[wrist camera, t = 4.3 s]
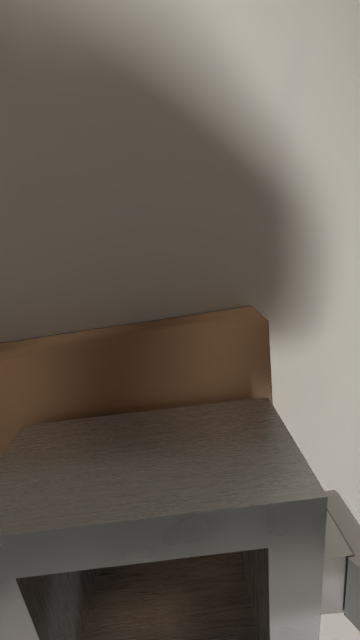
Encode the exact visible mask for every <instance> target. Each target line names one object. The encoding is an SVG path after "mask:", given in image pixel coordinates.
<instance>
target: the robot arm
mask: <svg viewBox="0 0 360 640" xmlns="http://www.w3.org/2000/svg"><path fill="white" fill-rule="evenodd" d="M325 493H326V495H327V496H328V502H327V519H326V535H325V551H324V568H323V584H322V600H321V614H331V613H341V612H344V615H345V616H346V617H347V618H348V619H349V620H350V621H351V622H352V624H353V625H354V626H355V627H356V628H357V629H358V630H359V631H360V525H359V523H358V522H357V520H356V519H355V517H354V516H353V514H352V513H351V511H350V510H349V508H348V507H347V505H346V504H345V502H344V501H343V499H342V498H341V496H340V495H339V493H338V492H336V491H335V490H331V491H325Z"/></svg>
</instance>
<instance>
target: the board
mask: <svg viewBox="0 0 360 640" xmlns="http://www.w3.org/2000/svg"><path fill="white" fill-rule="evenodd" d="M264 397H268V398H269V399H270V401H271V403H272V383H271V364H270V344H269V324H268V320H267V319H266V318H265V317H264V316H262V315H261V314H260V313H259V312H258V311H257V310H256V309H254V308H253V307H252V306H248V307H241V308H235V309H228V310H221V311H214V312H208V313H201V314H194V315H188V316H181V317H174V318H168V319H161V320H154V321H148V322H141V323H134V324H127V325H121V326H114V327H107V328H101V329H94V330H87V331H81V332H74V333H67V334H60V335H54V336H47V337H40V338H34V339H27V340H20V341H14V342H7V343H0V456H1V454H2V453H3V452H4V450H5V449H6V447H7V446H8V445H9V443H10V442H11V441H12V439H13V438H14V436H15V435H16V434H17V432H18V431H19V430H20V428H21V427H22V425H30V424H39V423H47V422H56V421H65V420H73V419H82V418H91V417H99V416H108V415H117V414H125V413H134V412H143V411H151V410H160V409H169V408H177V407H186V406H195V405H203V404H212V403H220V402H229V401H238V400H246V399H255V398H264ZM272 404H273V403H272Z"/></svg>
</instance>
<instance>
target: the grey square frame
mask: <svg viewBox="0 0 360 640" xmlns="http://www.w3.org/2000/svg"><path fill="white" fill-rule="evenodd" d="M327 502H328V496H327V495H326V493H325V491H324V490H323V488H322V486H321V485H320V483H319V481H318V480H317V478H316V476H315V475H314V473H313V471H312V470H311V468H310V466H309V465H308V463H307V461H306V460H305V458H304V456H303V455H302V453H301V451H300V450H299V448H298V446H297V445H296V443H295V441H294V440H293V438H292V436H291V435H290V433H289V431H288V430H287V428H286V426H285V425H284V423H283V421H282V420H281V418H280V416H279V414H278V413H277V411H276V409H275V408H274V406H273V404H272V403H271V401H270V399H269V398H268V397H264V398H255V399H246V400H238V401H229V402H220V403H212V404H203V405H195V406H186V407H177V408H169V409H160V410H151V411H143V412H134V413H125V414H117V415H108V416H99V417H91V418H82V419H73V420H65V421H56V422H47V423H39V424H30V425H22V427H21V428H20V430H19V431H18V432H17V434H16V435H15V436H14V438H13V439H12V441H11V442H10V443H9V445H8V446H7V447H6V449H5V450H4V452H3V453H2V454H1V456H0V640H319V633H320V617H321V600H322V584H323V568H324V551H325V535H326V519H327Z"/></svg>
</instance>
